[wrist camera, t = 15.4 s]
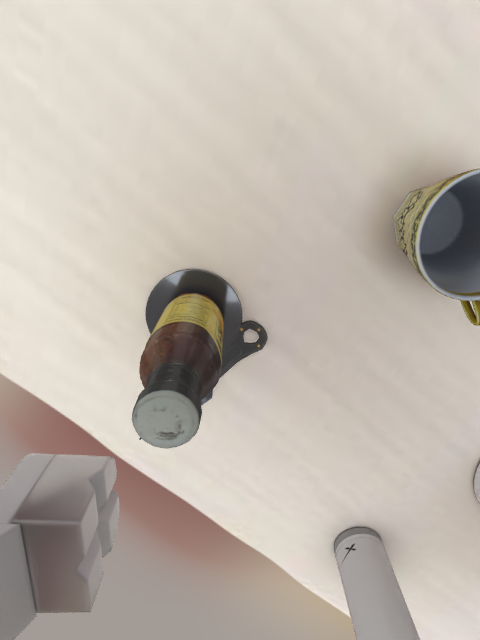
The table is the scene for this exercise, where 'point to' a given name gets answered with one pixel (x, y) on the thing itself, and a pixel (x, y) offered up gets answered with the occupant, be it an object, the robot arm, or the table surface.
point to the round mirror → (198, 284)
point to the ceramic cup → (445, 237)
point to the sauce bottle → (179, 370)
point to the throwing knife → (239, 350)
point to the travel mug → (372, 588)
